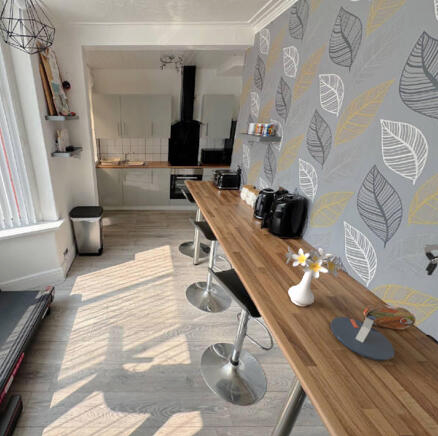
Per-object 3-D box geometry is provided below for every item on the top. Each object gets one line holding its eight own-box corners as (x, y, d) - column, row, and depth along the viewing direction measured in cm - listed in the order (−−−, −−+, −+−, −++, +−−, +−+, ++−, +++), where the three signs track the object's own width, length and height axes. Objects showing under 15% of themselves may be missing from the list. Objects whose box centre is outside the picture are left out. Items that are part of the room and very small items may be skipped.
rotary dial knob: (405, 369, 72) (416, 354, 69) (339, 350, 77) (347, 335, 74) (377, 326, 86) (386, 312, 84) (324, 313, 92) (330, 299, 89)
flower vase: (274, 285, 109) (289, 237, 99) (321, 300, 101) (343, 250, 90) (271, 302, 98) (288, 251, 88) (324, 321, 90) (349, 267, 80)
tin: (362, 323, 90) (372, 306, 87) (358, 317, 93) (366, 300, 89) (409, 332, 87) (421, 315, 83) (403, 325, 90) (414, 308, 86)
